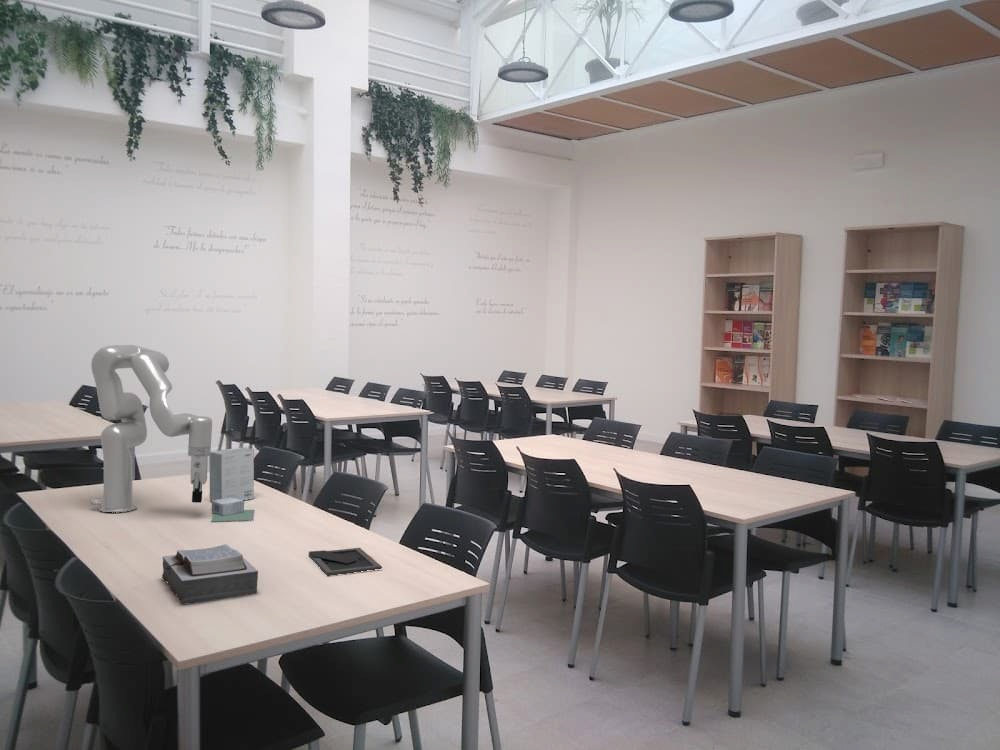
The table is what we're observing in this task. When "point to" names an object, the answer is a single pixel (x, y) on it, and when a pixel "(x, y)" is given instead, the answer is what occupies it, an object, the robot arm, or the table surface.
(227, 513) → the medicine box
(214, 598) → the book on foam base
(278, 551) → the table surface
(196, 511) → the table surface
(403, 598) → the table surface
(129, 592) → the table surface
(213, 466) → the hard drive box
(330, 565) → the picture frame
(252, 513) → the felt pad
